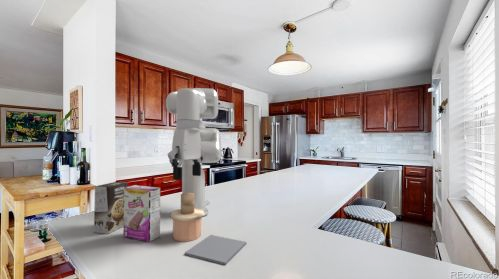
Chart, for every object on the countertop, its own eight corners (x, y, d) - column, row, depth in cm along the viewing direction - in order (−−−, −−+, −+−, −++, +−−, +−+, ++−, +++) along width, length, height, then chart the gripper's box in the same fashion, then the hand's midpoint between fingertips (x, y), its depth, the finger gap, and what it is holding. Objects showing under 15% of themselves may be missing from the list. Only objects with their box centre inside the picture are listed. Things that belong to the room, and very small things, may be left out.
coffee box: (109, 234, 76) (109, 186, 76) (93, 232, 78) (93, 185, 78) (128, 224, 85) (129, 181, 85) (114, 223, 87) (114, 181, 87)
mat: (210, 236, 75) (210, 234, 75) (246, 243, 70) (246, 241, 70) (184, 254, 63) (184, 252, 63) (225, 264, 58) (225, 262, 58)
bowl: (185, 228, 81) (185, 209, 81) (206, 232, 78) (206, 213, 78) (167, 238, 73) (167, 217, 73) (189, 243, 70) (189, 221, 70)
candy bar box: (122, 237, 74) (122, 187, 74) (134, 232, 78) (134, 184, 79) (149, 243, 70) (149, 190, 70) (160, 236, 75) (161, 187, 75)
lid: (185, 209, 83) (185, 189, 83) (209, 212, 78) (209, 192, 78) (163, 218, 73) (163, 196, 73) (190, 222, 69) (190, 199, 69)
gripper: (194, 128, 85) (194, 173, 85) (159, 124, 69) (159, 180, 69) (211, 127, 82) (211, 175, 82) (179, 123, 66) (178, 182, 66)
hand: (187, 177), depth 75 cm, fingers open, 9 cm apart
